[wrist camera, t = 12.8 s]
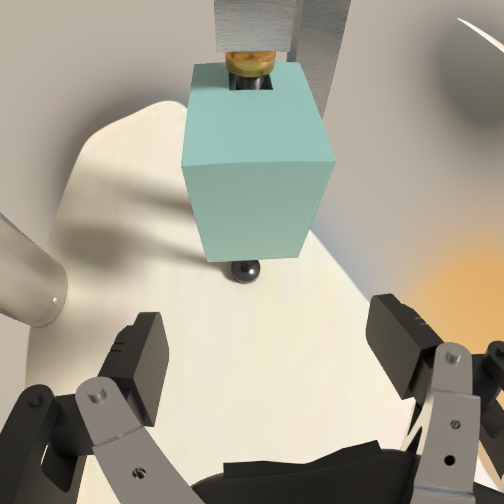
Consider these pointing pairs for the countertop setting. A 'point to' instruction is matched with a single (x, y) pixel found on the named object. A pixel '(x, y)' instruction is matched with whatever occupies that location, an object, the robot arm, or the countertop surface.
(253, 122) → the sleeve
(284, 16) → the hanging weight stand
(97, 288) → the countertop surface
